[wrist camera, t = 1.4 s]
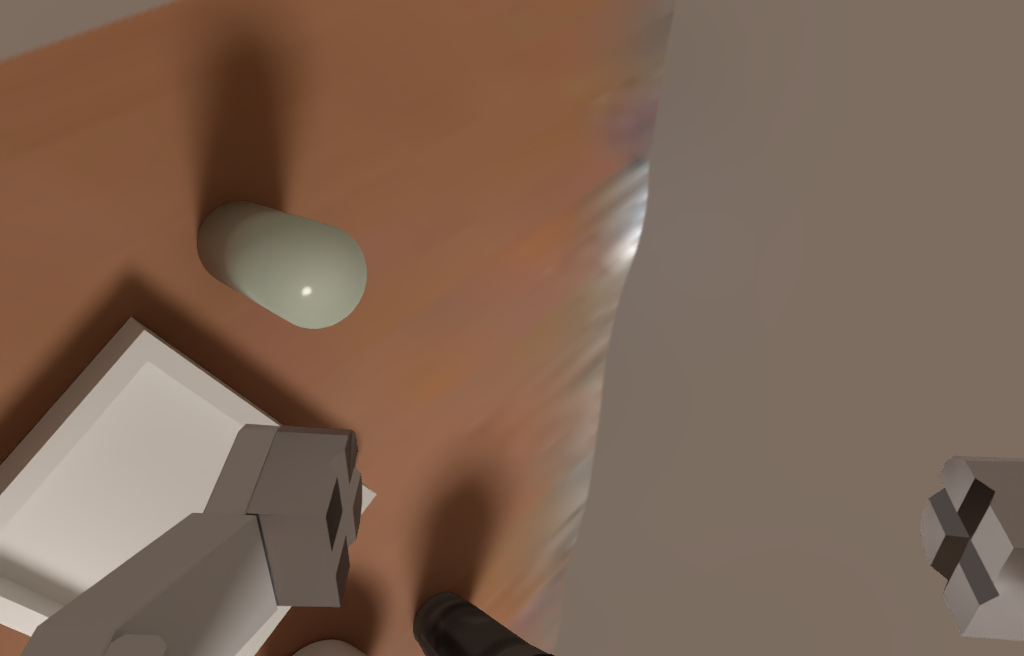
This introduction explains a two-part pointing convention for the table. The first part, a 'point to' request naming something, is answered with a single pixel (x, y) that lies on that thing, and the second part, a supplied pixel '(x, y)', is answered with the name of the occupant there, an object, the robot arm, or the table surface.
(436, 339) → the table surface
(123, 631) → the robot arm
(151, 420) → the tray
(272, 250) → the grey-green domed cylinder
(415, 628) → the beverage cup
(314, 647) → the candle
